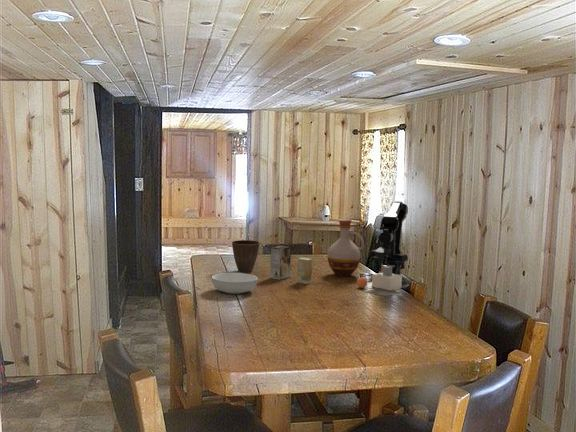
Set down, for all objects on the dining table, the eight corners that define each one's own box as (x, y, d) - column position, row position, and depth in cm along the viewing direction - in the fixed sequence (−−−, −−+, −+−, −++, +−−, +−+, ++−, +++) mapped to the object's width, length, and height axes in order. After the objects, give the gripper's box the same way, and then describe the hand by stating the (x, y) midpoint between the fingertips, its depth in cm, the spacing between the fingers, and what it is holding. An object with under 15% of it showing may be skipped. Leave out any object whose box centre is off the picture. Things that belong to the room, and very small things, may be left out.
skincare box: (296, 282, 269) (297, 258, 268) (300, 281, 273) (301, 257, 272) (308, 284, 266) (308, 259, 265) (311, 282, 270) (312, 258, 269)
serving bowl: (250, 298, 235) (250, 283, 234) (204, 295, 239) (204, 279, 238) (262, 288, 255) (262, 274, 254) (219, 285, 259) (220, 271, 258)
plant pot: (257, 274, 285) (258, 244, 284) (229, 273, 286) (230, 243, 284) (259, 269, 300) (260, 240, 299) (233, 268, 301) (233, 239, 299)
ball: (360, 286, 265) (361, 276, 265) (368, 287, 262) (369, 277, 262) (354, 287, 262) (354, 277, 261) (362, 289, 258) (363, 279, 258)
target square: (379, 288, 262) (379, 287, 262) (400, 292, 254) (400, 292, 254) (364, 291, 254) (364, 291, 253) (385, 296, 245) (385, 296, 245)
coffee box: (280, 275, 285) (281, 245, 284) (290, 277, 282) (291, 246, 280) (269, 278, 278) (270, 247, 277) (279, 279, 274) (280, 248, 273)
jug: (362, 272, 299) (364, 218, 296) (363, 279, 281) (366, 222, 278) (326, 271, 301) (328, 217, 298) (325, 277, 283) (328, 220, 280)
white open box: (384, 283, 272) (384, 264, 271) (401, 287, 265) (402, 267, 264) (372, 286, 265) (372, 266, 264) (389, 290, 258) (390, 269, 257)
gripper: (363, 240, 264) (362, 271, 265) (396, 245, 251) (394, 278, 252) (376, 238, 271) (375, 269, 273) (409, 243, 259) (407, 275, 260)
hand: (387, 272), depth 264 cm, fingers open, 9 cm apart
